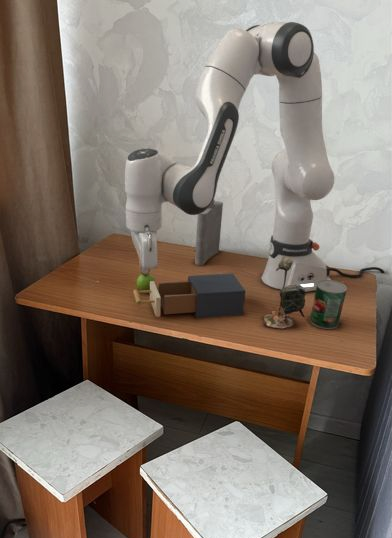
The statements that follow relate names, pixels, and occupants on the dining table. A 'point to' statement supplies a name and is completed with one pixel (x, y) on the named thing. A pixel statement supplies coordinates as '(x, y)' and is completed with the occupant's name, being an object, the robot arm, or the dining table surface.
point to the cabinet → (218, 295)
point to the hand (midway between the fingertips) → (144, 271)
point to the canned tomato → (328, 304)
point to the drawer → (170, 297)
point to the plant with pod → (287, 300)
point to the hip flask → (208, 232)
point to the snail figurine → (144, 280)
